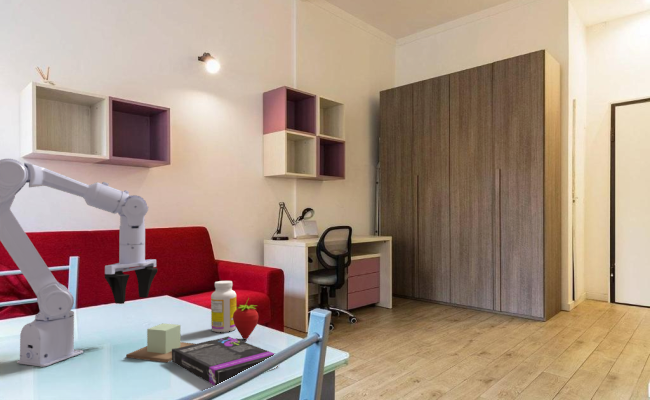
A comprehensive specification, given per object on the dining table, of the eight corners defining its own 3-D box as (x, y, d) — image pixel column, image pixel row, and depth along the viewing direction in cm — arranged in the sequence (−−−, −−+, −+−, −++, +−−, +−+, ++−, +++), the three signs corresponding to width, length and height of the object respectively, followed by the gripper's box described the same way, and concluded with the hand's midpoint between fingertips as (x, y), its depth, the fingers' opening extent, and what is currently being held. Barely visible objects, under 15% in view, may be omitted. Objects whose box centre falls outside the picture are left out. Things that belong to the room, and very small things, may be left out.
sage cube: (165, 353, 91) (165, 330, 92) (147, 351, 93) (147, 328, 93) (180, 346, 96) (180, 324, 96) (162, 344, 98) (162, 323, 98)
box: (279, 372, 84) (228, 349, 98) (279, 354, 84) (229, 333, 98) (216, 392, 74) (170, 362, 88) (217, 371, 74) (171, 346, 88)
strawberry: (248, 333, 108) (248, 294, 109) (263, 339, 103) (263, 299, 103) (227, 338, 105) (227, 297, 105) (242, 344, 99) (242, 302, 99)
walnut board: (167, 362, 88) (167, 359, 88) (126, 357, 91) (126, 354, 91) (199, 346, 98) (199, 344, 98) (161, 342, 101) (161, 340, 101)
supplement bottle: (234, 325, 117) (234, 279, 117) (238, 331, 111) (238, 282, 111) (209, 328, 114) (209, 281, 115) (213, 334, 108) (212, 284, 109)
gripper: (122, 246, 94) (121, 307, 93) (165, 242, 108) (165, 295, 107) (97, 246, 96) (97, 305, 96) (143, 242, 110) (143, 294, 109)
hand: (132, 300), depth 102 cm, fingers open, 7 cm apart
